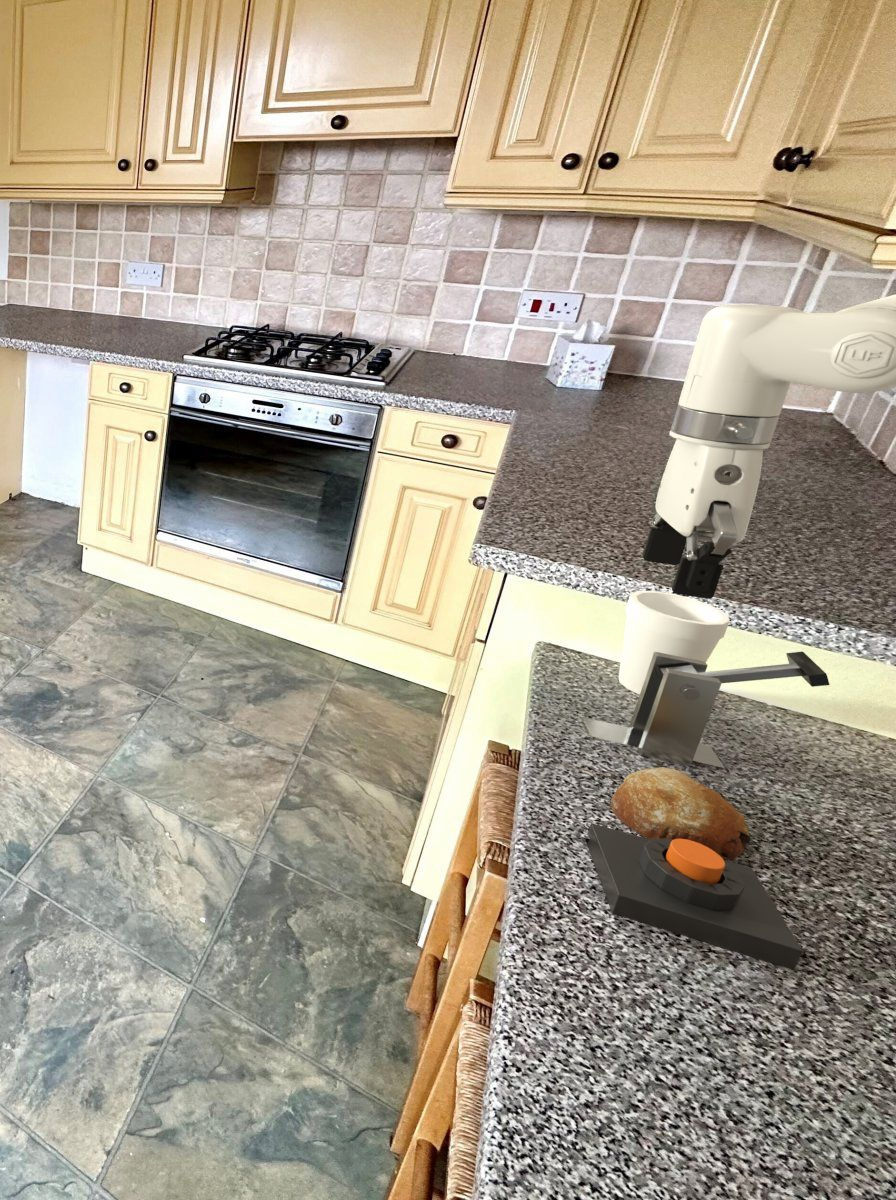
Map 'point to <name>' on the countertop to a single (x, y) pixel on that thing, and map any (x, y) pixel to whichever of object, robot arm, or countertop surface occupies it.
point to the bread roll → (679, 811)
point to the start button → (695, 860)
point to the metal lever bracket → (668, 714)
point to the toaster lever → (768, 671)
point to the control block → (690, 898)
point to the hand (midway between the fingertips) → (675, 578)
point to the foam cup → (666, 632)
